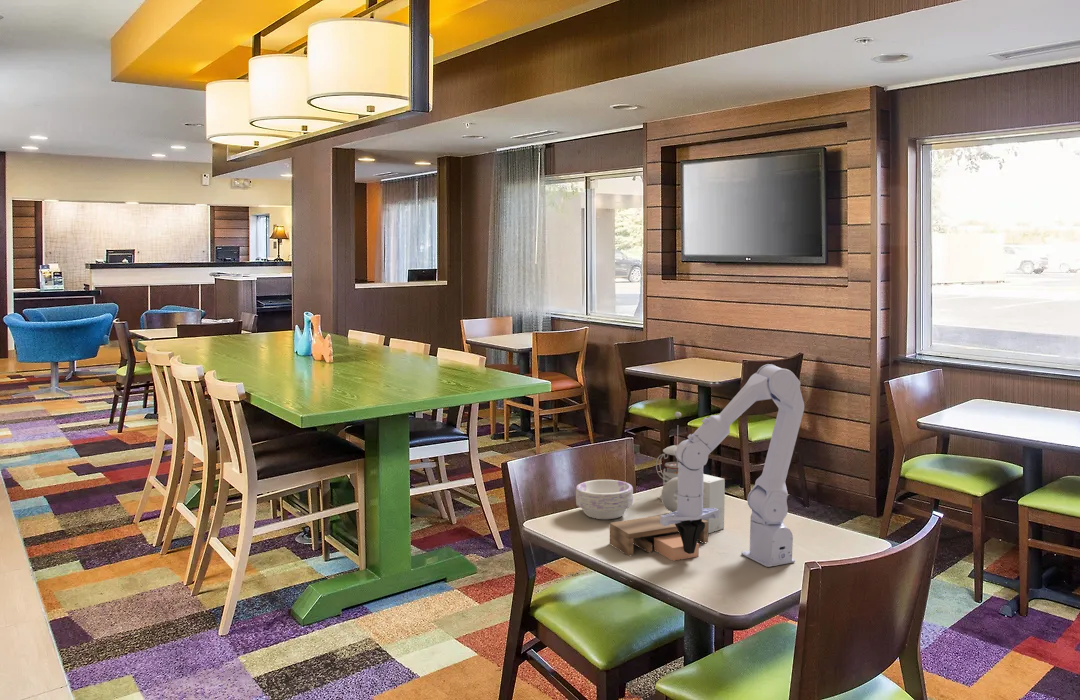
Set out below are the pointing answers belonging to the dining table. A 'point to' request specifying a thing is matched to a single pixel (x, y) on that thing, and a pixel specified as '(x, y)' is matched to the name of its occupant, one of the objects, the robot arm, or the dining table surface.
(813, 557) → the dining table surface
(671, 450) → the french press
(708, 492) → the small box
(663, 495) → the donut
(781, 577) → the dining table surface
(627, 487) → the paper bowls
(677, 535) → the cover
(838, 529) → the dining table surface
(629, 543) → the wooden stand
